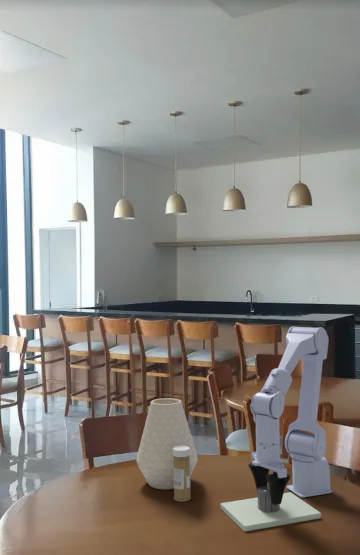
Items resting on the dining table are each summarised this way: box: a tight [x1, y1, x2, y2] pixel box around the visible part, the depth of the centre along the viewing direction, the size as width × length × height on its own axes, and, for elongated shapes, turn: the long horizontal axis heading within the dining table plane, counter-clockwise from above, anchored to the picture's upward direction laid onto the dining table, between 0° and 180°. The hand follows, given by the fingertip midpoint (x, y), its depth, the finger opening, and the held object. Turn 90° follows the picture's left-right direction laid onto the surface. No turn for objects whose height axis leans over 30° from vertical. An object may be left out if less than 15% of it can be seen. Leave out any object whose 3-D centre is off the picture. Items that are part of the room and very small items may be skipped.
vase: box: [136, 397, 199, 491], centre depth 154 cm, size 17×17×23 cm
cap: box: [257, 485, 280, 513], centre depth 132 cm, size 5×5×4 cm
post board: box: [219, 491, 322, 532], centre depth 132 cm, size 20×14×5 cm
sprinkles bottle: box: [173, 446, 192, 503], centre depth 142 cm, size 5×5×14 cm
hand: (269, 498), depth 132 cm, fingers open, 7 cm apart
